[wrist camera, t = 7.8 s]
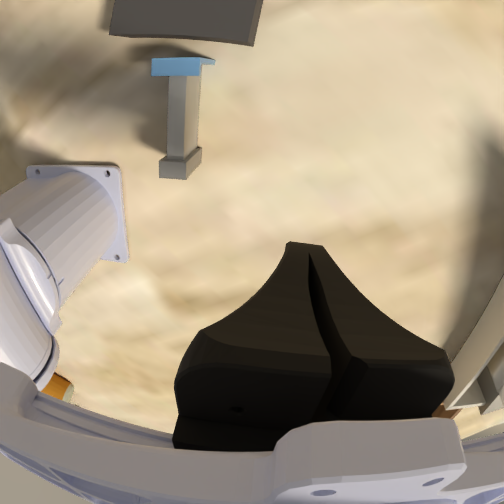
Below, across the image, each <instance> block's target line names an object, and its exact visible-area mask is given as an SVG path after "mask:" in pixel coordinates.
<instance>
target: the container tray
mask: <svg viewBox="0 0 504 504" xmlns="http://www.w3.org/2000/svg"><path fill="white" fill-rule="evenodd" d="M503 342H504V275H503V277H502V279H501V281H500V283H499V285H498V287H497V289H496V291H495V293H494V295H493V296H492V298H491V300H490V302H489V304H488V306H487V307H486V309H485V311H484V313H483V314H482V316H481V318H480V319H479V321H478V323H477V324H476V326H475V328H474V329H473V331H472V333H471V334H470V336H469V337H468V339H467V340H466V342H465V344H464V345H463V347H462V348H461V350H460V351H459V353H458V354H457V356H456V357H455V358H454V360H453V361H452V363H451V364H450V365H451V367H452V370H453V373H454V377H455V382H454V386H453V388H452V390H451V392H450V393H449V395H448V396H447V398H446V399H445V400H444V407H445V410H452V409H460V408H468V407H476V406H483V405H484V404H485V403H486V402H485V399H484V396H483V394H482V391H481V389H480V386H479V384H478V381H477V378H478V376H479V374H480V373H481V372H482V371H483V369H484V368H485V367H486V365H487V364H488V363H489V361H490V360H491V359H492V357H493V356H494V354H495V353H496V352H497V350H498V349H499V347H500V346H501V345H502V343H503Z"/></svg>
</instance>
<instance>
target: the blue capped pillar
mask: <svg viewBox="0 0 504 504" xmlns="http://www.w3.org/2000/svg"><path fill="white" fill-rule="evenodd" d="M202 64H207V65H215V60H212V59H206V58H201V57H178V58H152V68H151V76H169V89H168V117H167V155H166V156H165V157H164V158H162V159H161V160H160V161H159V178H169V179H182V180H186V179H187V178H188V177H189V176H190V175H191V174H192V172H193V171H194V170H195V169H196V168H197V167H198V166H199V165H200V163H201V154H202V148H197V141H198V118H199V100H200V84H201V69H202Z"/></svg>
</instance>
